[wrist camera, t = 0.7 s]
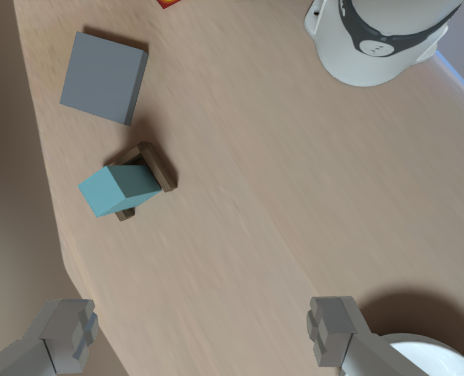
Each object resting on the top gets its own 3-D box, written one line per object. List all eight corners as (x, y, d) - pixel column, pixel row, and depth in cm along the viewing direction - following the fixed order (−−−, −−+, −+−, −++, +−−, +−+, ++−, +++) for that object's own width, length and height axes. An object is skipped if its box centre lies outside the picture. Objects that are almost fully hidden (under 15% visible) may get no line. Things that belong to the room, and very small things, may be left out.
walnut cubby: (150, 143, 51) (142, 141, 48) (177, 187, 51) (171, 188, 48) (103, 175, 53) (92, 176, 50) (129, 218, 52) (120, 221, 50)
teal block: (146, 165, 51) (105, 165, 39) (161, 190, 51) (125, 198, 39) (123, 180, 52) (77, 185, 40) (138, 205, 52) (96, 217, 40)
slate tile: (84, 36, 51) (76, 31, 49) (148, 54, 50) (143, 50, 48) (67, 105, 53) (59, 103, 51) (129, 125, 51) (123, 124, 49)
